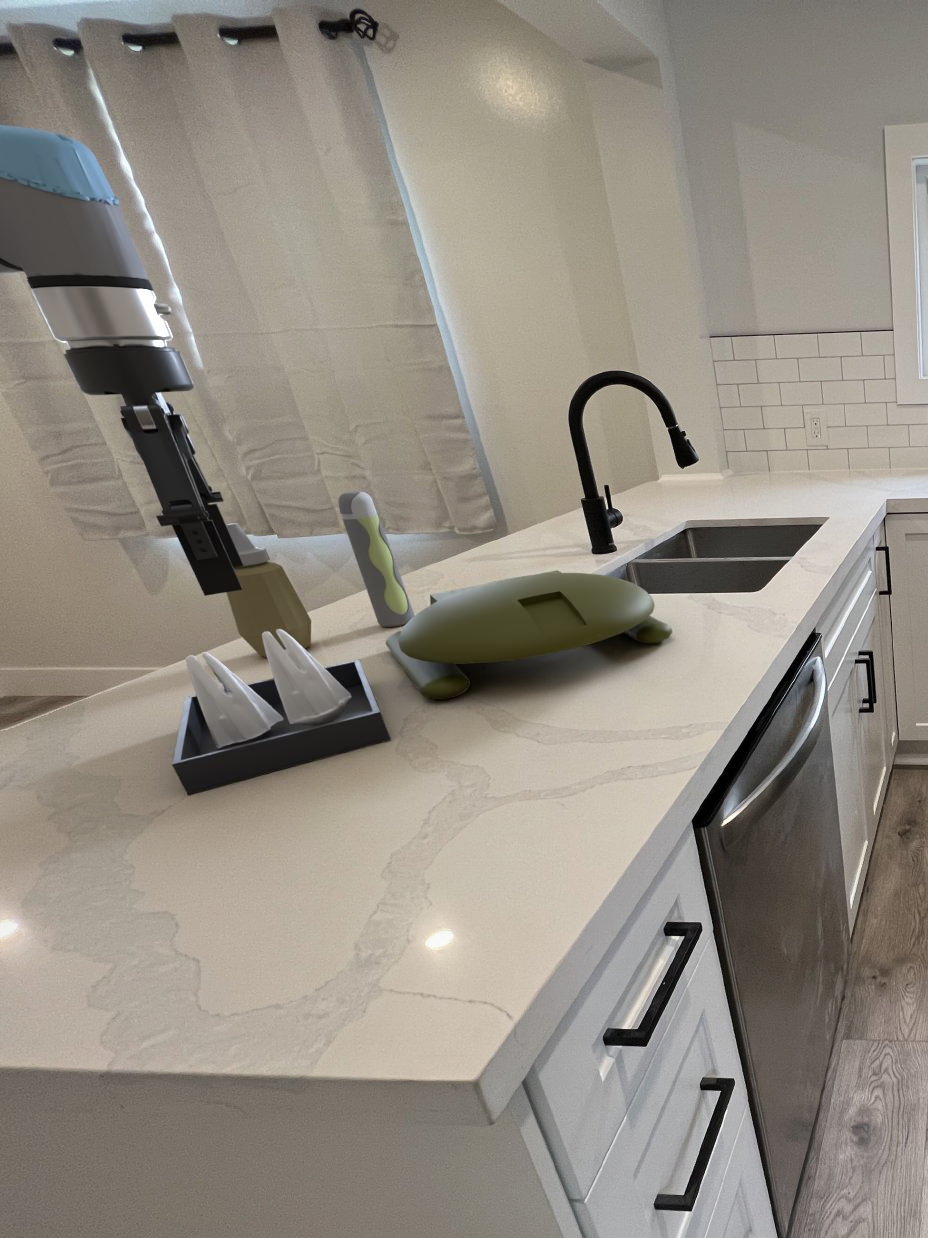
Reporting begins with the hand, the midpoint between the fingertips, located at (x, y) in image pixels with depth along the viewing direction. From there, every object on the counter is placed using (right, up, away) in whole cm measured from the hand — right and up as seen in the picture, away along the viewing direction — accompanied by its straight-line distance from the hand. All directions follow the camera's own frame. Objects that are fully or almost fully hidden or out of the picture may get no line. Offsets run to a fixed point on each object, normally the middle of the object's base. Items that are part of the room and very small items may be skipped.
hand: (225, 579), depth 76 cm
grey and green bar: (-13, 0, +42) cm, 44 cm away
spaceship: (+16, -5, +29) cm, 33 cm away
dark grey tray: (0, -16, +7) cm, 17 cm away
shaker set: (0, -15, +7) cm, 17 cm away
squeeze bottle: (-22, -5, +32) cm, 39 cm away
